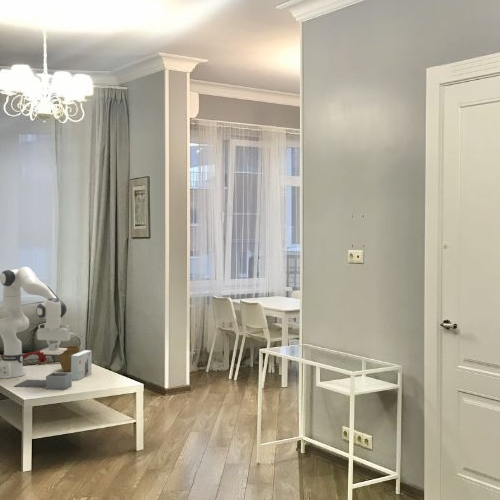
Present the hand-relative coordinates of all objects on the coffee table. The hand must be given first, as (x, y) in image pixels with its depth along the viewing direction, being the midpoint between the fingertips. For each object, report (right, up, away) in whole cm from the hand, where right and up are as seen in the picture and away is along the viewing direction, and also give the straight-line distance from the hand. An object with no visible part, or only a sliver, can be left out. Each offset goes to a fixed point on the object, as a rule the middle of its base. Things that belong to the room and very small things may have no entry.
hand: (53, 347), depth 430 cm
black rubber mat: (-14, -24, +10) cm, 29 cm away
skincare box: (+10, -23, +30) cm, 39 cm away
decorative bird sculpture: (-29, -22, +75) cm, 84 cm away
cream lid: (0, -4, 0) cm, 4 cm away
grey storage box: (+4, -24, -2) cm, 24 cm away
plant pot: (-3, -23, +50) cm, 55 cm away
